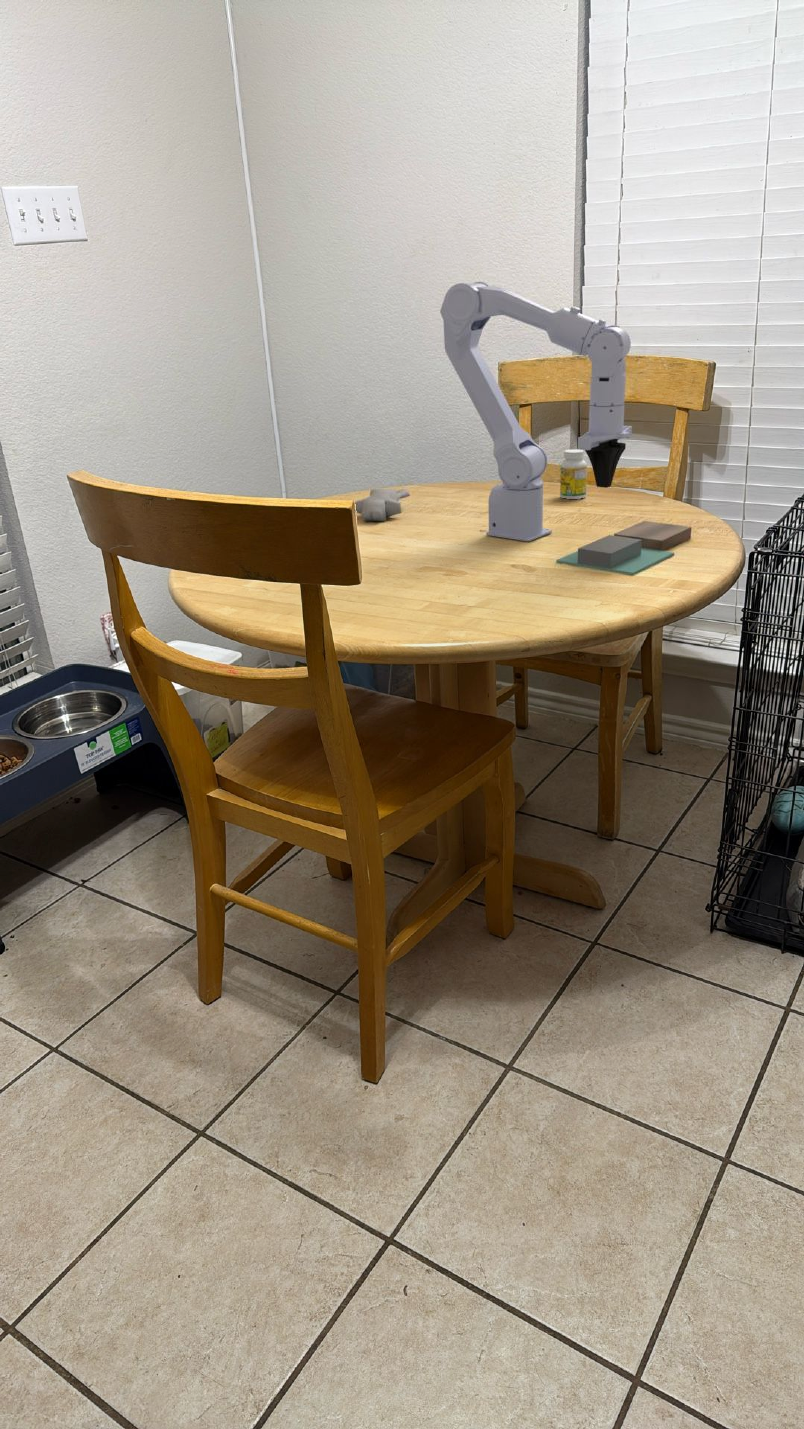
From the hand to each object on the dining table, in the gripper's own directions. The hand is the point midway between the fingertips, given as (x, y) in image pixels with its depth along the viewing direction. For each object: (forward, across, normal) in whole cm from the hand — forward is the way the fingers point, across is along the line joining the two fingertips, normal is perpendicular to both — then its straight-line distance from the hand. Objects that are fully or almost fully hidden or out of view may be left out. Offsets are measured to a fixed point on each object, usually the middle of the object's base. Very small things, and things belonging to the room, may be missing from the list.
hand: (603, 486), depth 167 cm
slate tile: (+9, -11, -8) cm, 16 cm away
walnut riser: (+9, +4, -8) cm, 13 cm away
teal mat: (+9, -9, -8) cm, 15 cm away
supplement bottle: (+10, +28, +23) cm, 37 cm away
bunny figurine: (+10, -4, +48) cm, 49 cm away
